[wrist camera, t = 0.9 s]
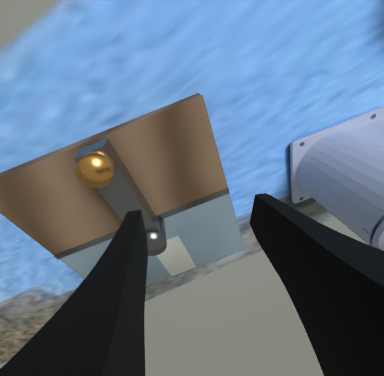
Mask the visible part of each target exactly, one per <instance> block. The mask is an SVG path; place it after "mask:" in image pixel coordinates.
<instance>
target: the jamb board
mask: <svg viewBox="0 0 384 376" xmlns="http://www.w3.org/2000/svg"><path fill="white" fill-rule="evenodd" d="M107 138H108V139H109V141H110V142H111V144H112V146H113V147H114V149H115V150H116V152H117V154H118V155H119V157H120V159H121V160H122V162H123V163H124V165H125V167H126V168H127V170H128V171H129V173H130V175H131V176H132V178H133V180H134V181H135V183H136V184H137V186H138V188H139V189H140V191H141V192H142V194H143V196H144V197H145V199H146V201H147V202H148V204H149V205H150V207H151V209H152V210H153V212H154V213H155V215H157V216H160V217H161V218H162V219H164V218H167V217H169V216H172V215H174V214H177V213H180V212H182V211H185V210H187V209H190V208H192V207H195V206H198V205H200V204H203V203H205V202H208V201H211V200H213V199H216V198H218V197H221V196H224V195H226V194H229V190H228V187H227V183H226V179H225V176H224V172H223V168H222V165H221V161H220V157H219V154H218V150H217V146H216V143H215V139H214V136H213V132H212V128H211V125H210V121H209V117H208V114H207V110H206V106H205V103H204V99H203V96H202V95H200V94H199V93H197V94H195V95H192V96H190V97H187V98H185V99H183V100H180V101H178V102H175V103H173V104H170V105H168V106H165V107H163V108H160V109H158V110H155V111H153V112H150V113H148V114H145V115H143V116H140V117H138V118H136V119H133V120H131V121H128V122H126V123H123V124H121V125H118V126H116V127H113V128H111V129H108V130H106V131H103V132H101V133H98V134H96V135H94V136H91V137H89V138H86V139H84V140H81V141H79V142H76V143H74V144H71V145H69V146H66V147H64V148H61V149H59V150H56V151H54V152H51V153H49V154H47V155H44V156H42V157H39V158H37V159H34V160H32V161H29V162H27V163H24V164H22V165H19V166H17V167H14V168H12V169H9V170H7V171H4V172H2V173H0V213H1V214H2V215H3V216H5V217H6V218H7V219H8V220H10V221H11V222H12V223H14V224H15V225H16V226H17V227H19V228H20V229H21V230H23V231H24V232H25V233H26V234H28V235H29V236H30V237H31V238H33V239H34V240H35V241H37V242H38V243H39V244H40V245H42V246H43V247H44V248H46V249H47V250H48V251H49V252H51V253H52V254H53V255H54V257H56V258H57V259H60V258H63V257H66V256H68V255H71V254H73V253H76V252H79V251H81V250H84V249H86V248H89V247H92V246H94V245H97V244H99V243H102V242H104V241H107V240H110V239H112V238H113V237H114V235H115V234H116V232H117V230H118V229H119V227H120V225H121V223H122V220H121V219H120V218H119V216H118V215H117V214H116V213H115V211H114V210H113V209H112V207H111V206H110V205H109V204H108V202H107V201H106V200H105V199H104V197H103V196H102V195H101V193H100V192H99V191H98V190H97V188H92V187H89V186H86V185H84V184H83V183H82V182H80V181H79V179H78V178H77V176H76V173H75V168H76V166H77V163H76V162H75V160H74V159H73V158H74V157H75V155H76V154H77V153H78V151H79V150H80V149H82V148H84V147H87V146H89V145H92V144H94V143H97V142H99V141H102V140H104V139H107Z"/></svg>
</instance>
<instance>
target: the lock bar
mask: <svg viewBox="0 0 384 376" xmlns="http://www.w3.org/2000/svg"><path fill="white" fill-rule="evenodd" d="M73 159H74V160H75V162H76V163H77V166H76V168H75V173H76V176H77V178H78V179H79V181H80V182H82V183H83V184H84V185H86V186H89V187H92V188H97V190H98V191H99V192H100V193H101V195H102V196H103V197H104V199H105V200H106V201H107V202H108V204H109V205H110V206H111V207H112V209H113V210H114V211H115V213H116V214H117V215H118V216H119V218H120V219H121V220H122V221H123V219H124V217H125V215H126V213H127V212H128V211H135V210H141V212H142V216H143V221H144V226H145V230H146V235H147V245H148V256H156V255H159V254H161V253H163V252H164V251H165V249H166V248H167V241H166V231H165V222H164V220H163V219H162V218H161V217H160V216H157V215H155V213H154V212H153V210H152V209H151V207H150V205H149V204H148V202H147V201H146V199H145V197H144V196H143V194H142V192H141V191H140V189H139V188H138V186H137V184H136V183H135V181H134V180H133V178H132V176H131V175H130V173H129V171H128V170H127V168H126V167H125V165H124V163H123V162H122V160H121V159H120V157H119V155H118V154H117V152H116V150H115V149H114V147H113V146H112V144H111V142H110V141H109V139H108V138H107V139H104V140H102V141H99V142H97V143H94V144H92V145H89V146H87V147H84V148H82V149H80V150H79V151H78V153H77V154H76V155H75V157H74V158H73Z"/></svg>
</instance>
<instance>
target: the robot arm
mask: <svg viewBox="0 0 384 376" xmlns="http://www.w3.org/2000/svg"><path fill="white" fill-rule="evenodd" d="M300 143H302V144H301V145H300ZM299 145H300V146H299ZM290 170H291V200H292V202H293V203H295V204H296V203H299V202H302V201H304V200H307V199H309V198H313V199H314V200H316V201H317V202H318V203H319V204H320V205H322V206H323V207H324V208H325V209H326V210H328V211H329V212H330V213H331V214H332V215H334V216H335V217H336V218H337V219H339V220H340V221H341V222H342V223H343V224H344V225H346V226H347V227H348V228H349V229H351V230H352V231H353V232H354V233H355V234H356V235H358V236H359V237H360V238H361V239H362V240H364V241H365V242H366V243H367V244H368V245H367V244H365V243H362V242H360V241H357V240H355V239H353V238H350V237H348V236H346V235H343V234H341V233H339V232H337V231H335V230H333V229H331V228H329V227H327V226H325V225H323V224H321V223H319V222H317V221H315V220H313V219H311V218H309V217H307V216H306V215H304V214H302V213H300V212H298V211H297V210H295V209H293V208H291V207H290V206H288V205H286V204H285V203H283V202H281V201H279V200H278V199H276V198H274V197H272V196H270V195H268V194H266V193H265V194H257V195H255V199H254V204H253V209H252V214H251V219H250V225H251V227H252V230H253V232H254V234H255V236H256V239H257V240H258V242H259V244H260V245H261V247H262V249H263V250H264V252H265V254H266V255H267V257H268V258H269V260H270V262H271V263H272V265H273V267H274V268H275V270H276V272H277V273H278V274H279V276H280V278H281V280H282V282H283V284H284V285H285V287H286V289H287V291H288V293H289V295H290V297H291V299H292V302H293V303H294V306H295V308H296V310H297V312H298V314H299V317H300V319H301V321H302V323H303V325H304V328H305V330H306V332H307V334H308V337H309V339H310V341H311V344H312V346H313V349H314V351H315V354H316V356H317V359H318V361H319V364H320V366H321V369H322V371H323V374H324V376H384V107H380V108H377V109H374V110H372V111H369V112H367V113H364V114H362V115H359V116H357V117H354V118H351V119H349V120H346V121H344V122H341V123H339V124H336V125H333V126H331V127H328V128H326V129H323V130H321V131H318V132H316V133H313V134H310V135H308V136H305V137H303V138H300V139H298V140H295V141H293V142H292V143H291V145H290ZM147 264H148V245H147V235H146V230H145V226H144V221H143V216H142V212H141V210H135V211H128V212H127V213H126V215H125V217H124V219H123V221H122V223H121V225H120V227H119V229H118V230H117V232H116V234H115V235H114V237H113V239H112V240H111V242H110V244H109V245H108V247H107V248H106V250H105V251H104V253H103V254H102V256H101V257H100V259H99V260H98V262H97V263H96V265H95V266H94V267H93V269H92V270H91V271H90V273H89V274H88V275H87V277H86V278H85V279H84V280H83V282H82V283H81V284H80V285H79V287H78V288H77V289H76V290H75V292H74V293H73V294H72V295H71V296H70V297H69V298H68V300H67V301H66V302H65V303H64V304H63V305H62V307H61V308H60V309H59V310H58V311H57V312H56V313H55V314H54V315H53V317H52V318H51V319H50V320H49V321H48V322H47V323H46V324H45V325H44V326H43V327H42V328H41V329H40V330H39V331H38V332H37V333H36V334H35V335H34V336H33V337H32V338H31V339H30V340H29V341H28V342H27V343H26V344H25V345H24V347H23V348H22V349H21V350H20V351H19V352H18V353H17V354H16V355H14V356H13V357H12V358H11V359H10V360H9V361H8V362H7V363H6V364H5V365H4V366H3V367H2V368H1V369H0V376H145V348H144V347H145V346H144V303H145V290H146V277H147Z"/></svg>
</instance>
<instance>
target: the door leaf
mask: <svg viewBox="0 0 384 376" xmlns="http://www.w3.org/2000/svg"><path fill="white" fill-rule="evenodd" d="M163 220H164V222H165V231H166V241H167V248H166V249H165V251H164V252H163V253H161V254H159V255H156V256H148V264H147V277H146V287H147V286H150V285H152V284H155V283H158V282H160V281H163V280H166V279H168V278H171V277H174V276H176V275H179V274H182V273H184V272H187V271H190V270H192V269H195V268H198V267H200V266H203V265H206V264H208V263H211V262H214V261H216V260H219V259H222V258H224V257H227V256H230V255H232V254H235V253H237V252H240V251H243V250H245V249H244V245H243V241H242V238H241V234H240V230H239V227H238V223H237V220H236V216H235V212H234V209H233V205H232V201H231V198H230V194H226V195H224V196H221V197H218V198H216V199H213V200H211V201H208V202H205V203H203V204H200V205H198V206H195V207H192V208H190V209H187V210H185V211H182V212H180V213H177V214H174V215H172V216H169V217H167V218H164V219H163ZM112 239H113V238H112ZM112 239H110V240H107V241H104V242H102V243H99V244H97V245H94V246H92V247H89V248H86V249H84V250H81V251H79V252H76V253H73V254H71V255H68V256H66V257H63V258H60V260H61V261H62V262H63V263H65V264H66V265H67V266H69V267H70V268H71V269H72V270H74V271H75V272H76V273H78V274H79V275H80V276H81V277H83V278H84V279H85V278H86V277H87V275H88V274H89V273H90V271H91V270H92V269H93V267H94V266H95V265H96V263H97V262H98V260H99V259H100V257H101V256H102V254H103V253H104V251H105V250H106V248H107V247H108V245H109V244H110V242H111V240H112Z"/></svg>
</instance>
